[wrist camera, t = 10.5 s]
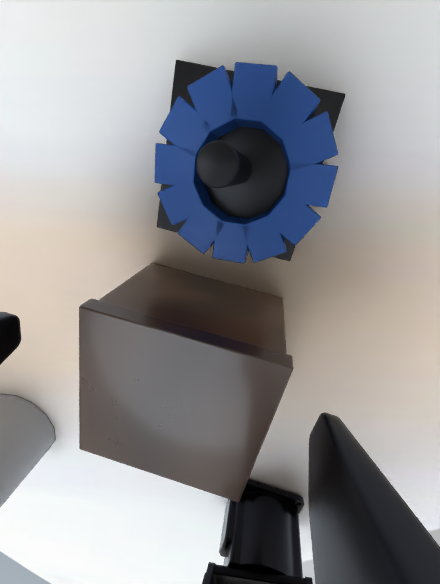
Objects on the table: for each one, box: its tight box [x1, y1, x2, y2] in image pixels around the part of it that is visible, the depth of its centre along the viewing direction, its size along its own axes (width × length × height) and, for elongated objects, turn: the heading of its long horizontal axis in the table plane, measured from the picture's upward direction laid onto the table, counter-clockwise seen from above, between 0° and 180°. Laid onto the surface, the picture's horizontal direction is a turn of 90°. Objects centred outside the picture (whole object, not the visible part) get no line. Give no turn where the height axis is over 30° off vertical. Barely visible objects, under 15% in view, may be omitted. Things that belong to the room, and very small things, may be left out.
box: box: [79, 263, 293, 502], centre depth 18 cm, size 10×10×8 cm
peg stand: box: [157, 60, 345, 261], centre depth 14 cm, size 9×9×8 cm
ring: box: [155, 62, 338, 263], centre depth 15 cm, size 9×9×2 cm
